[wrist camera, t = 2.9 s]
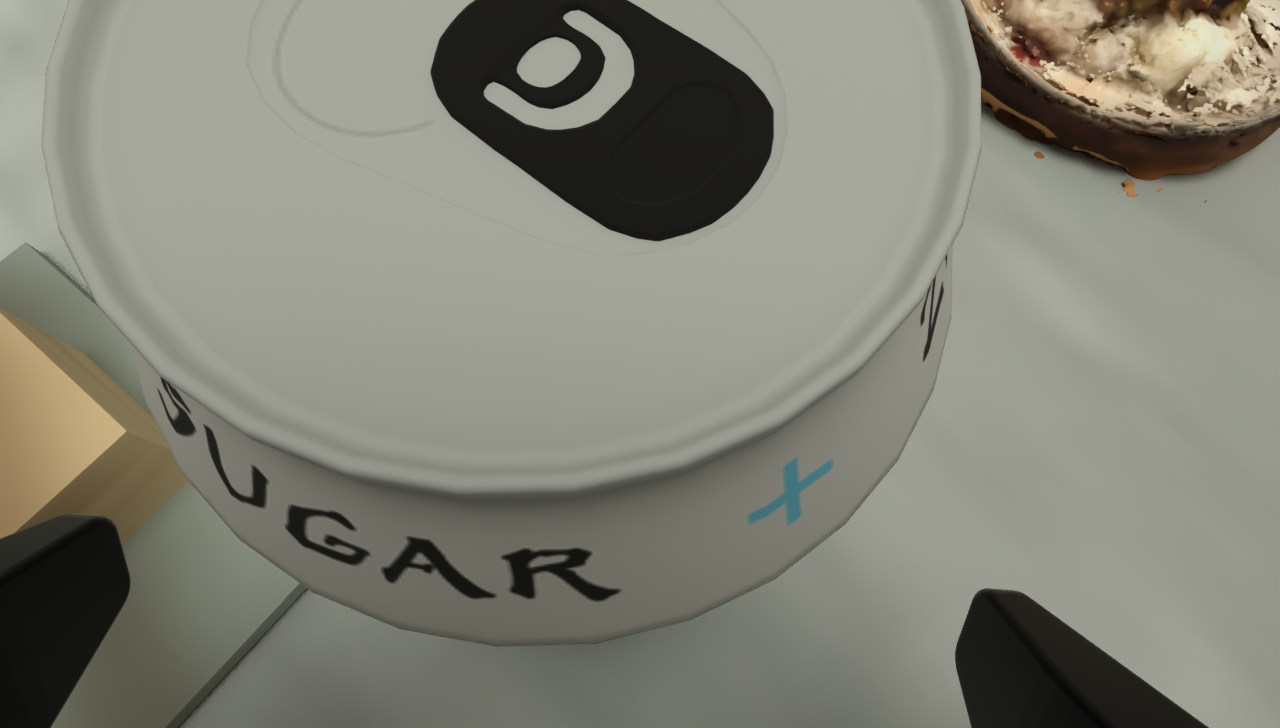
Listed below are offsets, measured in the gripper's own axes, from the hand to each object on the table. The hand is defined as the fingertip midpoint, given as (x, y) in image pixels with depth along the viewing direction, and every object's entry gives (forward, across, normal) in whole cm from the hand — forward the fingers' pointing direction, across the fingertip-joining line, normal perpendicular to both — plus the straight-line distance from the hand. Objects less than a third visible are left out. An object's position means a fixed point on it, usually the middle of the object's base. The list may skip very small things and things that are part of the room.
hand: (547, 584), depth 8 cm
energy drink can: (+9, 0, +6) cm, 11 cm away
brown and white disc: (+22, -15, -6) cm, 27 cm away
